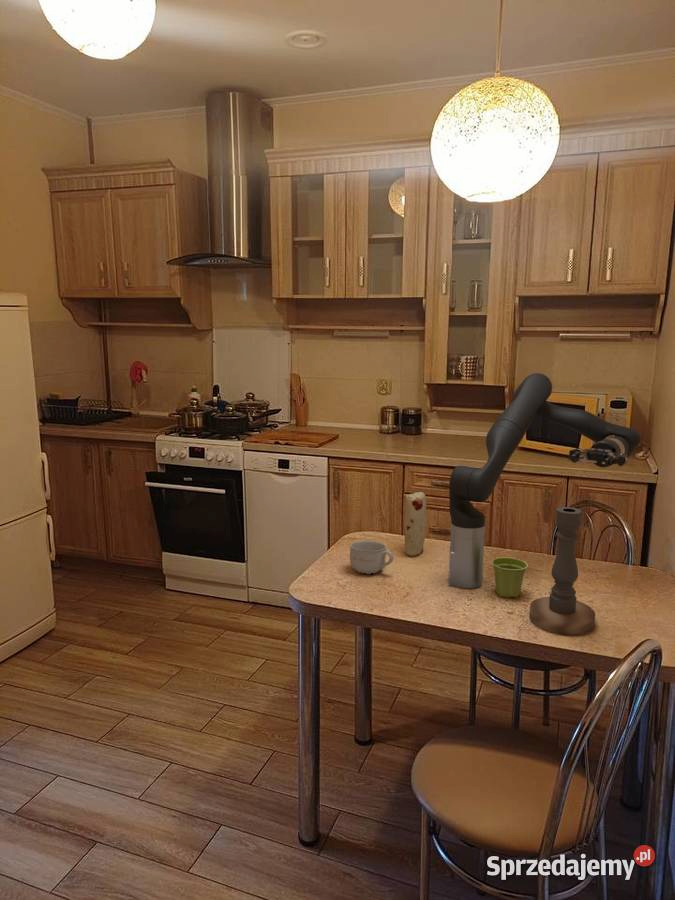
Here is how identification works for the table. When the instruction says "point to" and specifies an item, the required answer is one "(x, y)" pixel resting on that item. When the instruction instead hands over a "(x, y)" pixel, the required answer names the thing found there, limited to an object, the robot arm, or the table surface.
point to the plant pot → (508, 575)
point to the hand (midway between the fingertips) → (589, 460)
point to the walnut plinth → (562, 618)
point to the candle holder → (565, 561)
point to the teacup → (369, 556)
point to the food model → (415, 523)
